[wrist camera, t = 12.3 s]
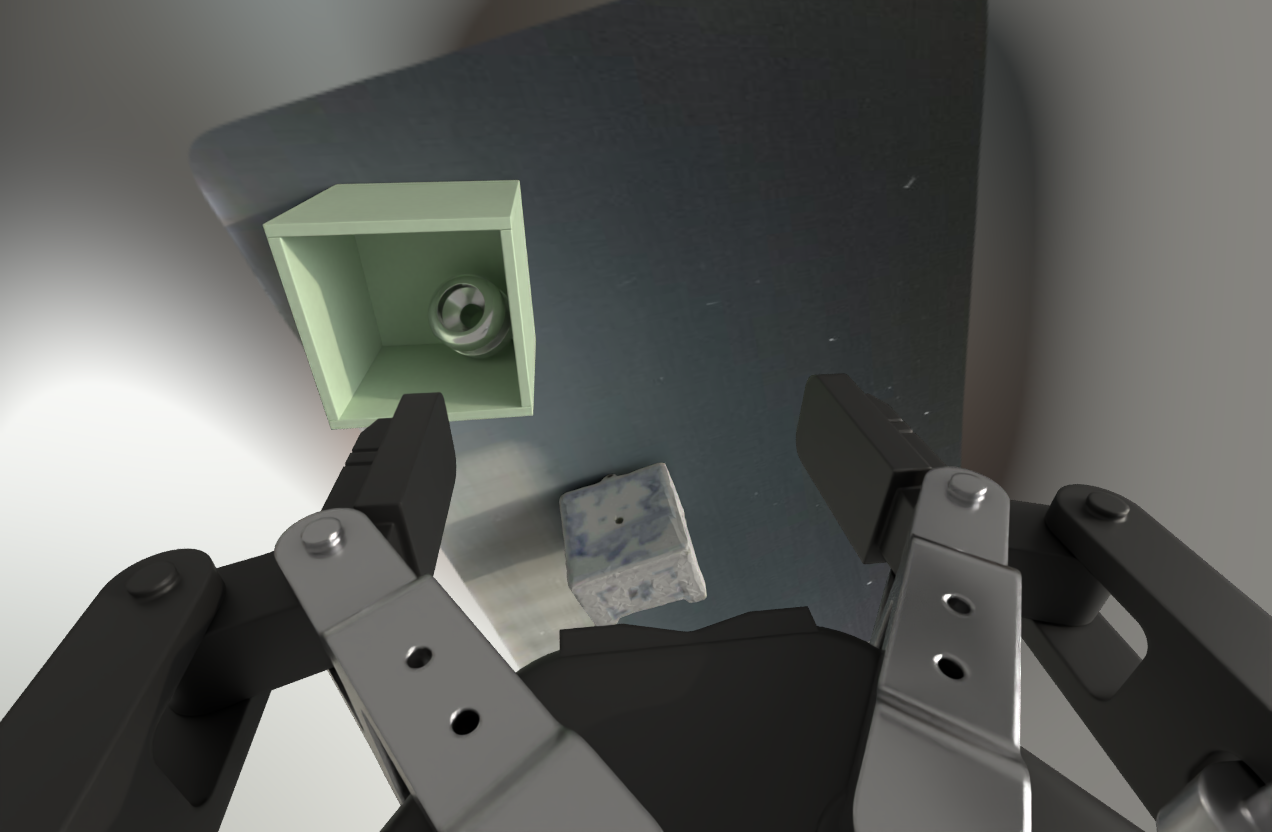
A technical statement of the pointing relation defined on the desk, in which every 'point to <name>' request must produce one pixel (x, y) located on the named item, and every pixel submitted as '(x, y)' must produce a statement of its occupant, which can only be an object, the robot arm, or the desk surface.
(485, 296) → the metal grooved wheel
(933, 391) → the desk surface
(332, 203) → the waste bin
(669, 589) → the incense holder
